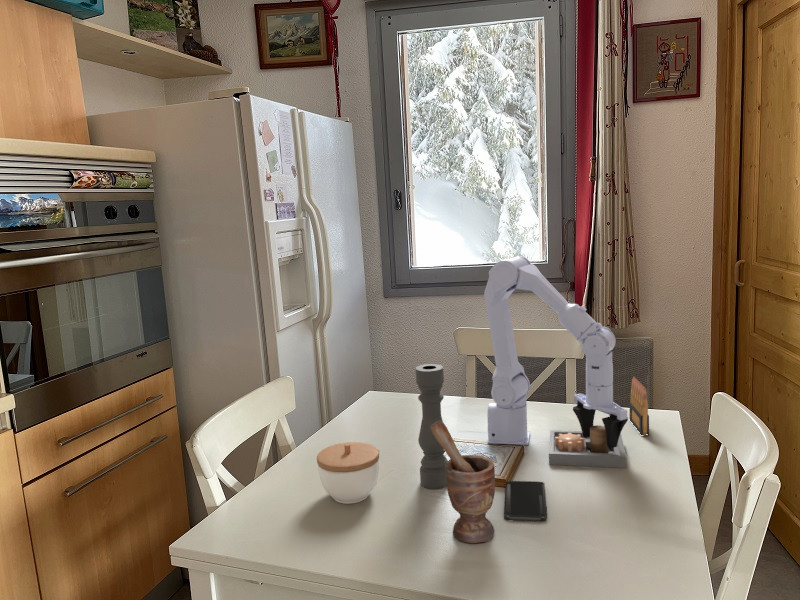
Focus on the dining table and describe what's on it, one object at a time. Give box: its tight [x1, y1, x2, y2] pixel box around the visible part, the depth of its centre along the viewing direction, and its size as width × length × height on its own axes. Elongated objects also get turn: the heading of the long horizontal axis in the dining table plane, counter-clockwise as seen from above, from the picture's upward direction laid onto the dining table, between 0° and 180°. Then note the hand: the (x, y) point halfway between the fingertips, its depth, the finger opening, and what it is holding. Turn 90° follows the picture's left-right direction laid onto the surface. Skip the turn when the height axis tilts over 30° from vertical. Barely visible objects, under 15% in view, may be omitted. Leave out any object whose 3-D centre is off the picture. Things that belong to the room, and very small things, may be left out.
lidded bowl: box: [316, 441, 380, 505], centre depth 132 cm, size 13×13×11 cm
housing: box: [548, 429, 627, 469], centre depth 147 cm, size 16×14×4 cm
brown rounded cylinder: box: [589, 424, 610, 453], centre depth 146 cm, size 4×4×6 cm
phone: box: [503, 480, 548, 523], centre depth 126 cm, size 8×1×15 cm
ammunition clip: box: [628, 375, 650, 436], centre depth 159 cm, size 11×2×12 cm, turn 175°
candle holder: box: [415, 363, 449, 490], centre depth 135 cm, size 6×6×25 cm
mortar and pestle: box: [430, 420, 496, 544], centre depth 115 cm, size 12×9×20 cm
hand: (599, 441), depth 146 cm, fingers open, 7 cm apart
